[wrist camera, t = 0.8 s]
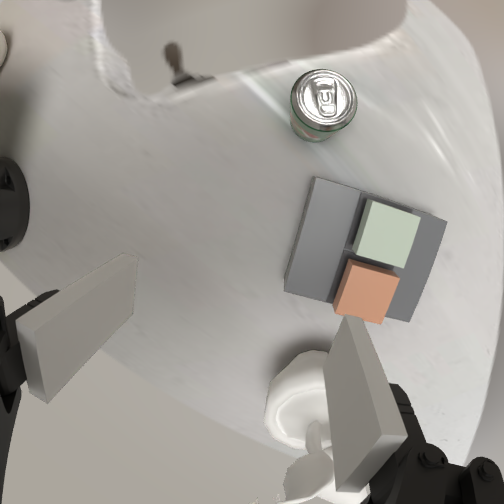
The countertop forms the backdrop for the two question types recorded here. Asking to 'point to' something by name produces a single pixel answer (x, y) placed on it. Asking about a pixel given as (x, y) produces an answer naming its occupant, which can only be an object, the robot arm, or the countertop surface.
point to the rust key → (365, 291)
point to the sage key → (385, 234)
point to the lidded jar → (2, 48)
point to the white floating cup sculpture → (305, 430)
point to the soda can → (321, 104)
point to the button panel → (341, 242)
